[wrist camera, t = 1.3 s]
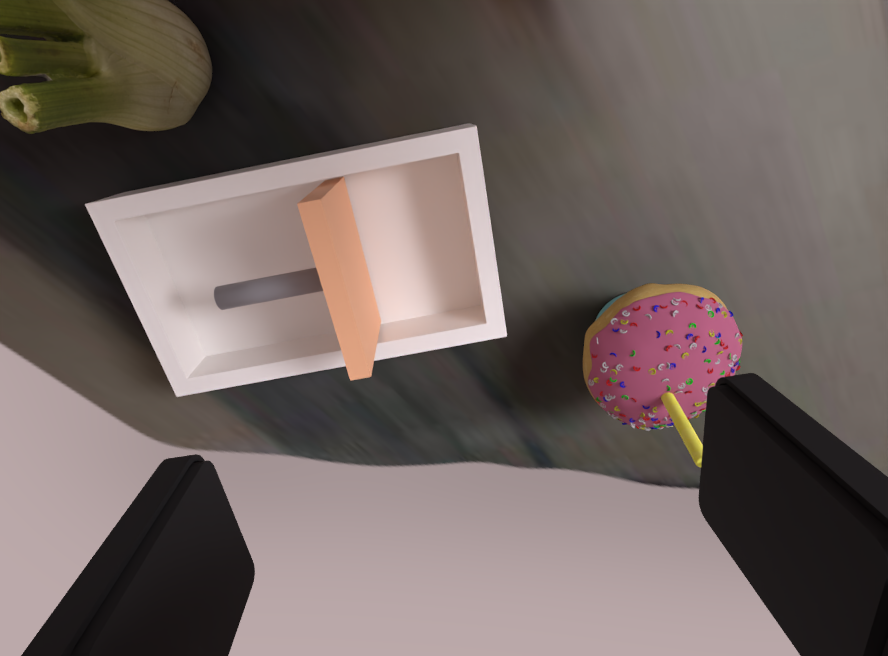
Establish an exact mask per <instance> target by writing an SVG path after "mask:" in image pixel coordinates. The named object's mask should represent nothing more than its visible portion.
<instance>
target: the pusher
mask: <svg viewBox="0 0 888 656" xmlns="http://www.w3.org/2000/svg"><path fill="white" fill-rule="evenodd" d="M297 206H298V209H299V212H300V216H301V219H302V222H303V226H304V229H305V232H306V235H307V239H308V242H309V245H310V249H311V252H312V255H313V259H314V262H315V265H316V268H311V269H305V270H300V271H295V272H290V273H284V274H279V275H274V276H269V277H263V278H258V279H253V280H248V281H243V282H237V283H232V284H227V285H222V286H217V287H215V289H214V299H215V302H216V304H217V306H218V307H219V308H220V309H221V310H225V309H230V308H235V307H241V306H246V305H251V304H257V303H262V302H267V301H272V300H278V299H283V298H288V297H294V296H299V295H304V294H310V293H315V292H320V291H323V292H324V295H325V298H326V302H327V305H328V308H329V312H330V315H331V318H332V321H333V325H334V328H335V331H336V335H337V338H338V341H339V345H340V348H341V351H342V354H343V358H344V361H345V364H346V368H347V371H348V374H349V378H350V381H351V380H356V379H362V378H367V377H371V374H372V369H373V363H374V358H375V352H376V347H377V341H378V336H379V330H380V325H381V318H380V314H379V311H378V307H377V303H376V299H375V295H374V291H373V287H372V283H371V280H370V276H369V272H368V268H367V264H366V260H365V256H364V252H363V249H362V245H361V241H360V237H359V233H358V229H357V225H356V221H355V218H354V214H353V210H352V206H351V202H350V198H349V194H348V190H347V187H346V183H345V179H344V177H339V178H334V179H329V180H325V181H324V182H323V183H321V184H320V185H319V186H318V187H317V188H315V189H314V190H313V191H312V192H311V193H309V194H308V195H307V196H306V197H305V198H303V199H302V200H301V201H300V202H298V203H297Z"/></svg>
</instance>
